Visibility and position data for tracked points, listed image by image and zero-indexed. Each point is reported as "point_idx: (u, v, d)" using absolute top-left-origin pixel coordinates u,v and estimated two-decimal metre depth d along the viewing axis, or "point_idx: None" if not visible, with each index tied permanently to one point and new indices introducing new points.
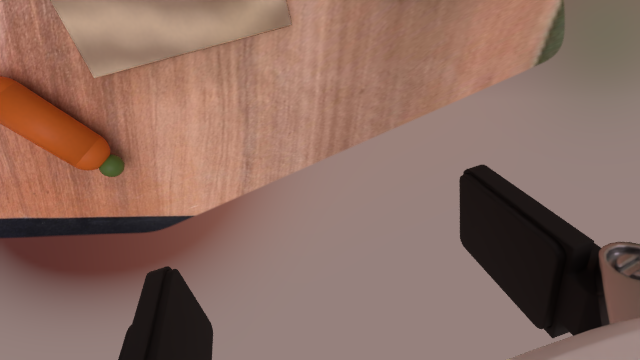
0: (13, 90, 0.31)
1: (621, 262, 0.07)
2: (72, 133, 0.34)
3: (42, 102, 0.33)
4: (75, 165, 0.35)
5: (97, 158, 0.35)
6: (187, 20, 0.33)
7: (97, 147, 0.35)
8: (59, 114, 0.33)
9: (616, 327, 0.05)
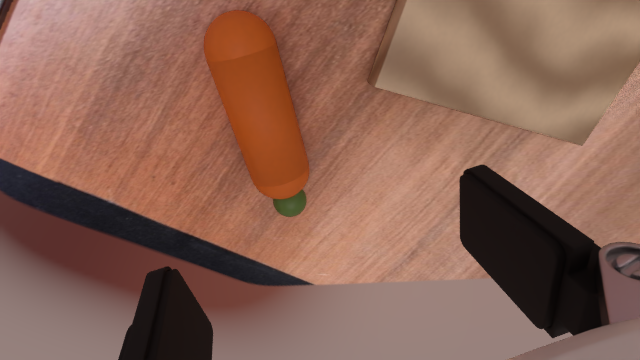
0: (269, 56, 0.18)
1: (621, 262, 0.07)
2: (289, 151, 0.21)
3: (285, 89, 0.20)
4: (257, 184, 0.22)
5: (288, 194, 0.23)
6: (514, 86, 0.25)
7: (300, 182, 0.22)
8: (292, 116, 0.21)
9: (615, 326, 0.05)
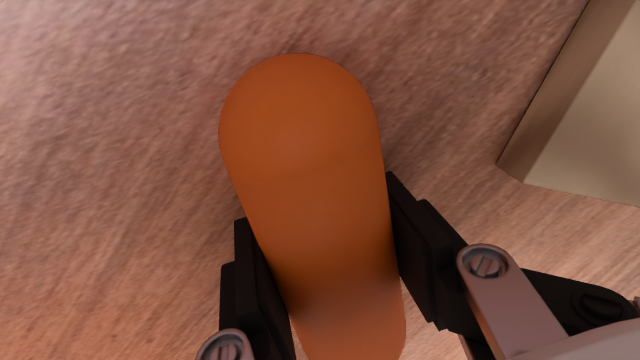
0: (373, 156, 0.08)
1: (474, 265, 0.08)
2: (390, 319, 0.11)
3: (388, 206, 0.10)
4: None
5: None
6: None
7: (399, 356, 0.12)
8: (395, 251, 0.10)
9: (615, 327, 0.05)
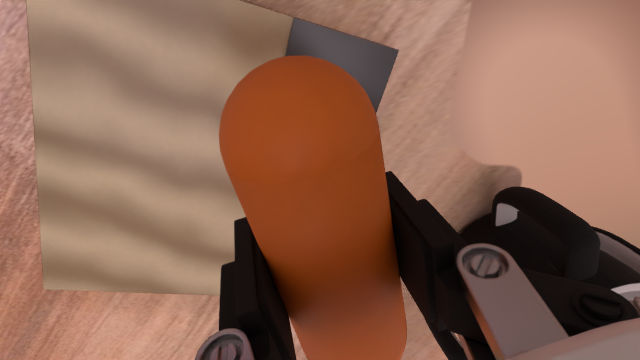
0: (374, 158, 0.08)
1: (474, 265, 0.08)
2: (391, 322, 0.11)
3: (389, 208, 0.10)
4: None
5: None
6: (200, 269, 0.27)
7: (399, 358, 0.12)
8: (396, 254, 0.10)
9: (616, 327, 0.05)
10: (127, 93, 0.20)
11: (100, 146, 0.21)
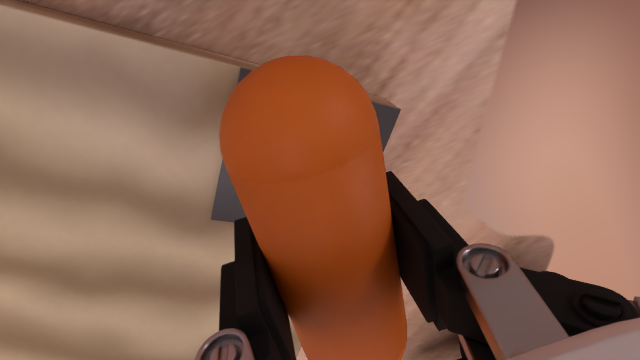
0: (375, 159, 0.08)
1: (474, 265, 0.08)
2: (391, 322, 0.11)
3: (389, 208, 0.10)
4: None
5: None
6: None
7: (400, 359, 0.12)
8: (396, 254, 0.10)
9: (615, 326, 0.05)
10: None
11: None
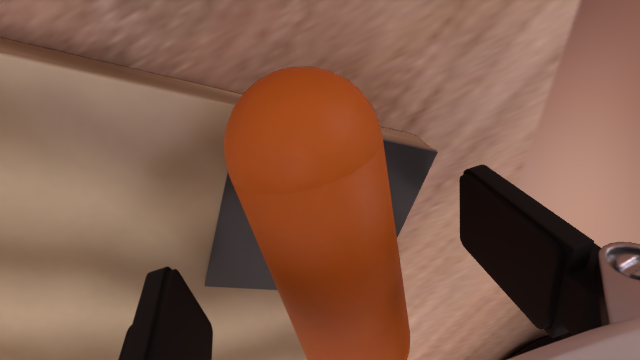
0: (380, 165, 0.08)
1: (621, 262, 0.07)
2: (397, 326, 0.11)
3: None
4: None
5: None
6: None
7: None
8: (399, 258, 0.11)
9: (616, 327, 0.05)
10: None
11: None
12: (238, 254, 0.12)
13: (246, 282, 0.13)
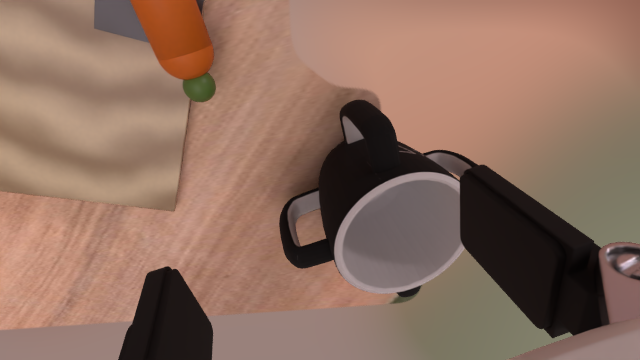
0: None
1: (621, 262, 0.07)
2: (196, 16, 0.23)
3: None
4: (170, 58, 0.23)
5: (203, 65, 0.24)
6: (56, 170, 0.29)
7: (210, 52, 0.25)
8: None
9: (616, 327, 0.05)
10: None
11: None
12: (109, 8, 0.24)
13: (117, 30, 0.25)
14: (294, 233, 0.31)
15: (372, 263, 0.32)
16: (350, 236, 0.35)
